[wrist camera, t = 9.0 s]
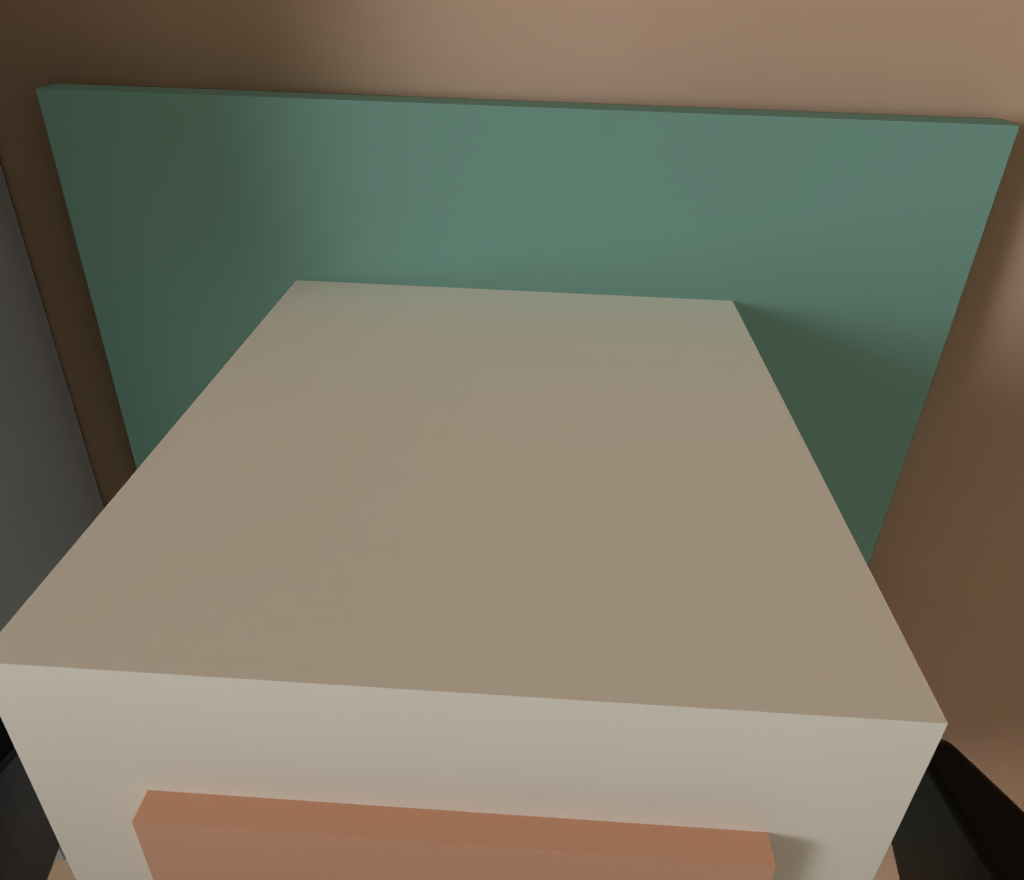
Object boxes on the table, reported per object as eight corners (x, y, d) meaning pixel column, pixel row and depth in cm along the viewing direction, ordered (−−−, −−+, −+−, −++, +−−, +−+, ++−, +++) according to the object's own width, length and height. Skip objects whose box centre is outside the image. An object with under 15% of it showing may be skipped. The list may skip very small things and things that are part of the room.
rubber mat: (232, 781, 15) (225, 800, 14) (56, 83, 8) (35, 88, 8) (770, 816, 14) (775, 837, 14) (999, 119, 8) (1019, 126, 8)
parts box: (350, 735, 13) (217, 1224, 8) (296, 280, 9) (-49, 691, 4) (647, 754, 13) (704, 1264, 8) (732, 300, 9) (965, 758, 4)
